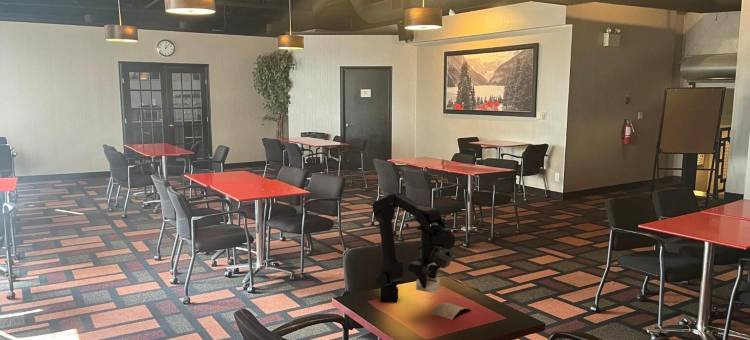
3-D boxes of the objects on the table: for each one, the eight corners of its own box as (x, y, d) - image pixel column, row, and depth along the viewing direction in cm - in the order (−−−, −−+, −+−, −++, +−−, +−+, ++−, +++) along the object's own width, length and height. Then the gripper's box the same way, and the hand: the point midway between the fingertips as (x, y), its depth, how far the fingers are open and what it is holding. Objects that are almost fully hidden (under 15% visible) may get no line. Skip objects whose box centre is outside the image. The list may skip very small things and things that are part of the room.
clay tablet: (451, 322, 207) (452, 314, 207) (428, 315, 214) (429, 308, 214) (473, 311, 218) (473, 304, 218) (450, 305, 225) (451, 298, 225)
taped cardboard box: (416, 289, 210) (416, 279, 210) (422, 285, 214) (422, 276, 214) (433, 293, 207) (434, 283, 206) (439, 289, 211) (439, 279, 210)
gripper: (434, 252, 196) (433, 297, 198) (461, 242, 211) (460, 283, 213) (407, 247, 203) (406, 291, 205) (434, 237, 218) (434, 278, 220)
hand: (428, 286), depth 210 cm, fingers closed on taped cardboard box, 5 cm apart
